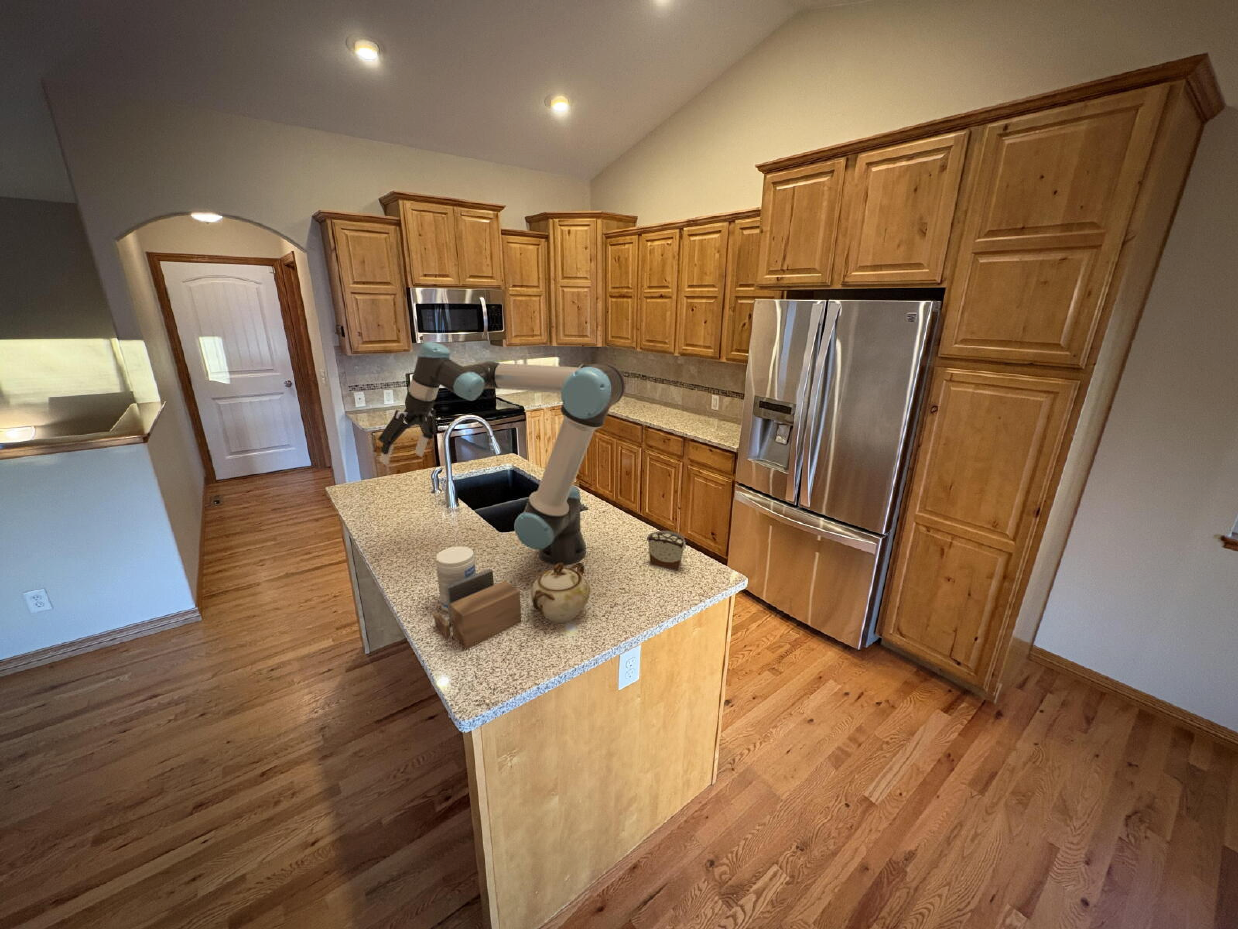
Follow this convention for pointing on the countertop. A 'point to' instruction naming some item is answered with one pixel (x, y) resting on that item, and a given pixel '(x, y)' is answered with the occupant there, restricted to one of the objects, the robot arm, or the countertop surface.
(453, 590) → the plate
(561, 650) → the countertop surface
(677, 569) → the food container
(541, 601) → the sugar bowl
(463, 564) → the supplement tub
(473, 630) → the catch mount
